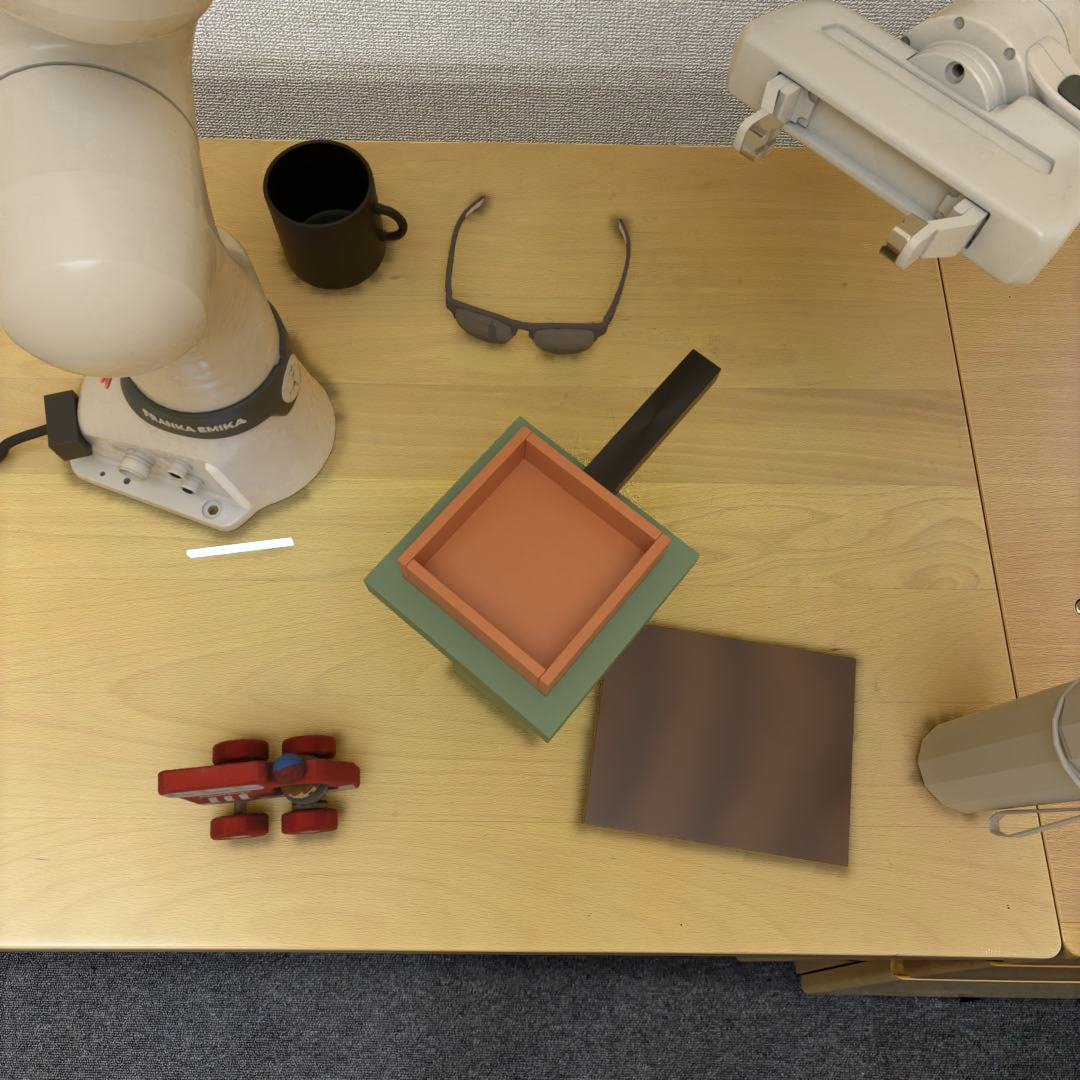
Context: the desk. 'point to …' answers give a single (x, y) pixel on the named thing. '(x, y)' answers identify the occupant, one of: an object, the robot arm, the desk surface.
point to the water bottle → (1009, 757)
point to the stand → (488, 668)
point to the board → (725, 745)
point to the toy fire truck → (266, 784)
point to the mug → (328, 213)
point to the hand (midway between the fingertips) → (818, 196)
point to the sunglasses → (542, 334)
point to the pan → (551, 539)
